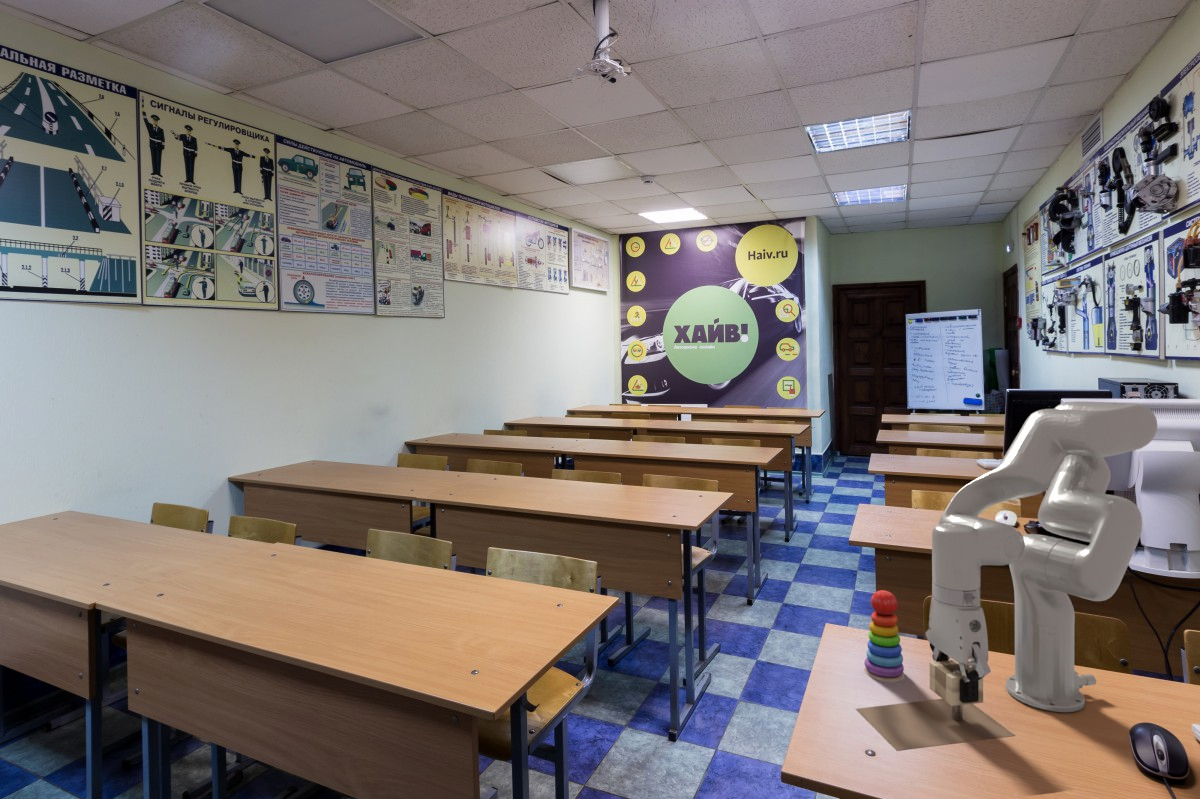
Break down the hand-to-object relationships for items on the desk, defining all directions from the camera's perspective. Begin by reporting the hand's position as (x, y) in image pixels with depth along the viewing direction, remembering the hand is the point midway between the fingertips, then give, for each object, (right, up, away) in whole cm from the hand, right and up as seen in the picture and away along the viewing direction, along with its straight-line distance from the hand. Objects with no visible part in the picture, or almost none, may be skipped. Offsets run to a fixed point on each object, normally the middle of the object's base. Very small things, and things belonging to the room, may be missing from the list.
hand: (955, 690), depth 113 cm
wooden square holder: (0, -1, 0) cm, 1 cm away
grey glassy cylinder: (+1, -5, 0) cm, 5 cm away
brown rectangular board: (-4, -7, 0) cm, 8 cm away
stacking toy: (-5, -6, +18) cm, 20 cm away
